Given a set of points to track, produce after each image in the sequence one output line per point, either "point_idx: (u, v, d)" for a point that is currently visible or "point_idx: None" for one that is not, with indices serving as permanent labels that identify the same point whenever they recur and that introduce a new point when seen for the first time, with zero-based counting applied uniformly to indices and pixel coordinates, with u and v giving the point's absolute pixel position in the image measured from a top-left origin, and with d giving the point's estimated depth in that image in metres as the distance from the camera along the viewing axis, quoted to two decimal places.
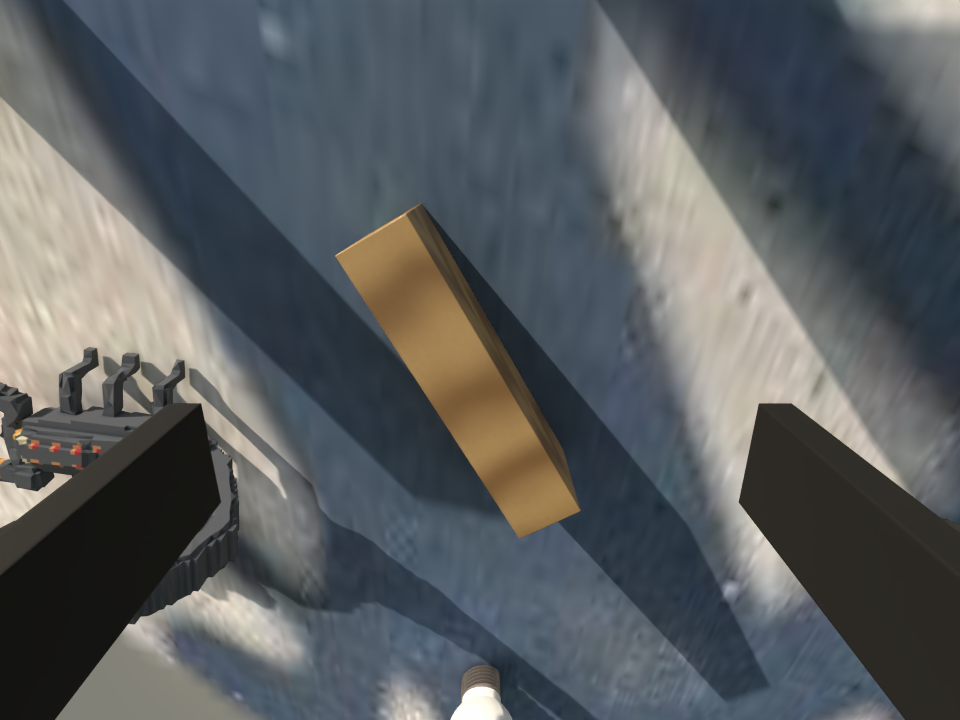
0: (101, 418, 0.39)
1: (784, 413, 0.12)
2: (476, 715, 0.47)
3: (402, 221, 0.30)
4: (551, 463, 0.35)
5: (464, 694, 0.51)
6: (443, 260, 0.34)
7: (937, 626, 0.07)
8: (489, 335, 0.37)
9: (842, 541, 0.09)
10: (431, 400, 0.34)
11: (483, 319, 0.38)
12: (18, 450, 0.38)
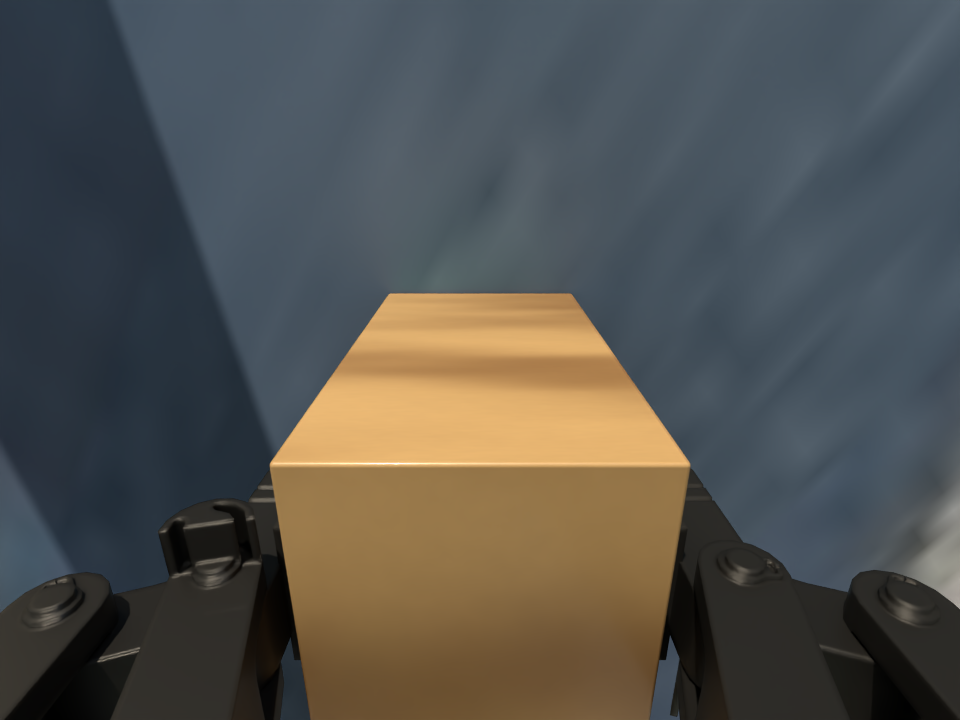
0: None
1: None
2: None
3: (654, 484, 0.06)
4: None
5: None
6: None
7: None
8: None
9: None
10: None
11: None
12: None
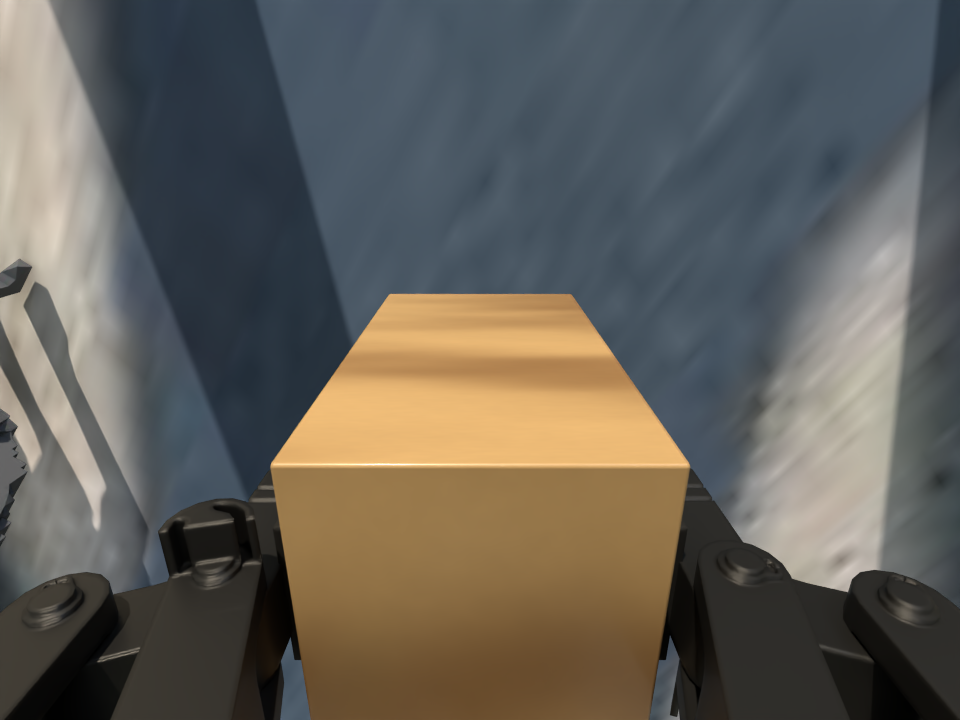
0: None
1: None
2: None
3: (654, 485, 0.06)
4: None
5: None
6: None
7: None
8: None
9: None
10: None
11: None
12: None
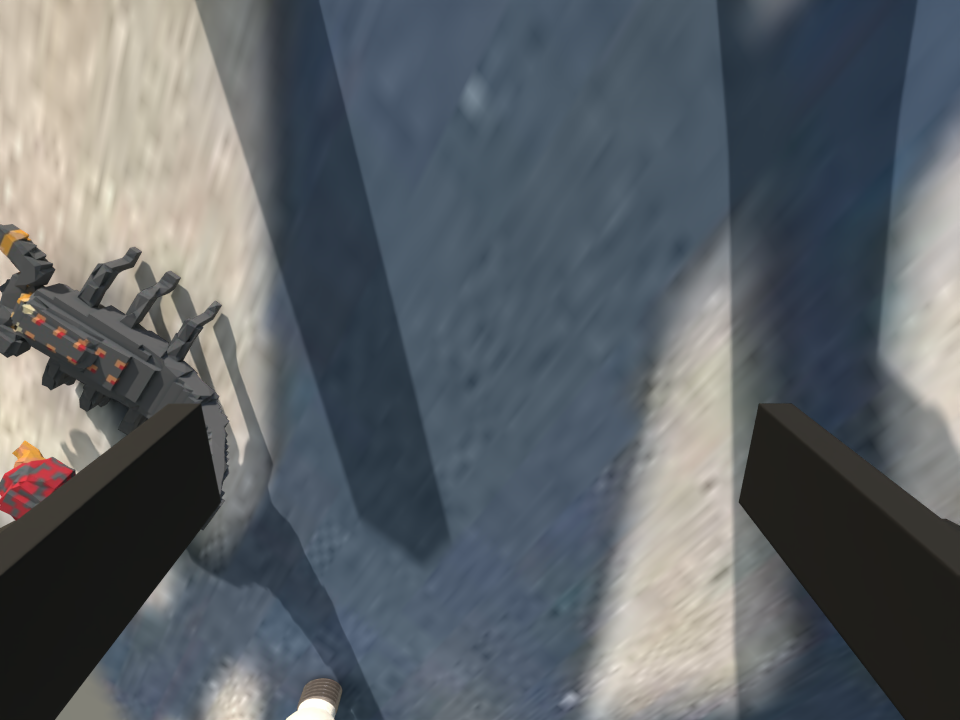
0: (118, 324, 0.37)
1: (784, 413, 0.12)
2: None
3: None
4: None
5: (304, 701, 0.53)
6: None
7: (937, 626, 0.07)
8: None
9: (842, 541, 0.09)
10: None
11: None
12: (17, 316, 0.35)
